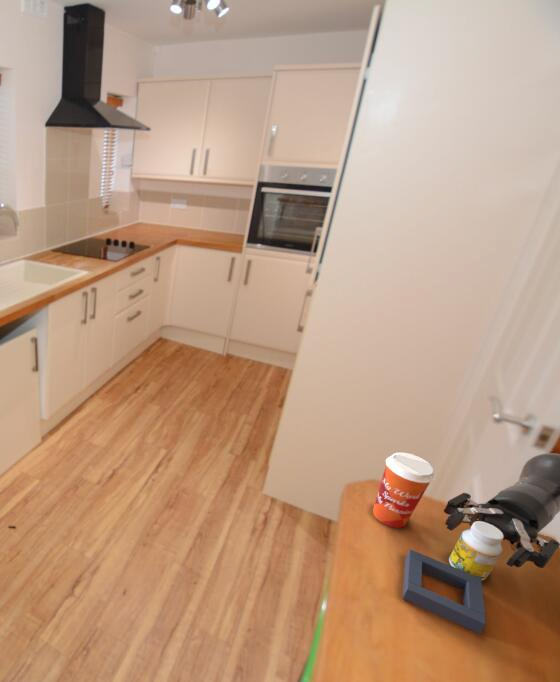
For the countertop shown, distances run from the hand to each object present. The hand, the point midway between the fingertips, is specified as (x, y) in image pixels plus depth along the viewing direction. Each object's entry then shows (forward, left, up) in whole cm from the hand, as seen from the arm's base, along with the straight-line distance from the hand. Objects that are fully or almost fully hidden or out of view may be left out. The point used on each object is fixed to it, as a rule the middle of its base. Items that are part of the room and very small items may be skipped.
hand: (479, 543), depth 79 cm
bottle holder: (+3, +8, -7) cm, 11 cm away
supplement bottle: (-1, -2, -8) cm, 8 cm away
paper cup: (+11, -7, -8) cm, 16 cm away
